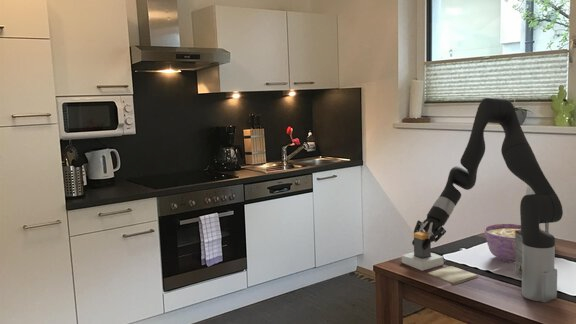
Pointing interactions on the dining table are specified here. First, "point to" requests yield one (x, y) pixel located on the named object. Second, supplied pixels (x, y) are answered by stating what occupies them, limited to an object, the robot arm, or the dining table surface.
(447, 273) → the mat
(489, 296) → the dining table surface
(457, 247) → the dining table surface
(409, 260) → the white square block
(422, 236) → the grey square pillar
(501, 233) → the bowl of food
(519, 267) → the coffee box
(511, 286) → the dining table surface
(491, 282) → the dining table surface
